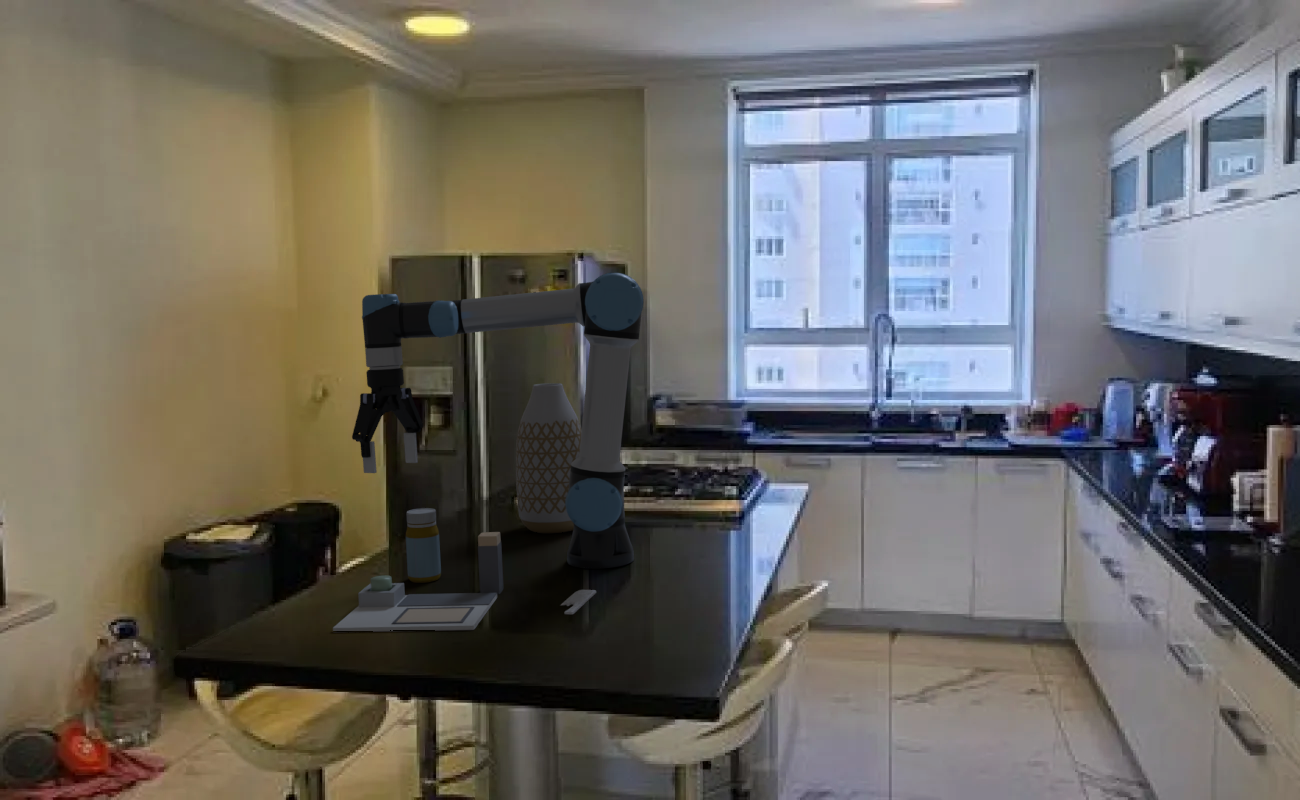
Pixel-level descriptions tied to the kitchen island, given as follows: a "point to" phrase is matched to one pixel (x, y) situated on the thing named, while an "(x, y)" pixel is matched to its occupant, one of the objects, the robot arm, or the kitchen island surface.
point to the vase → (546, 459)
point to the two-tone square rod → (490, 562)
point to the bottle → (422, 546)
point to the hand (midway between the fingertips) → (391, 467)
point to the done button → (381, 583)
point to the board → (415, 611)
